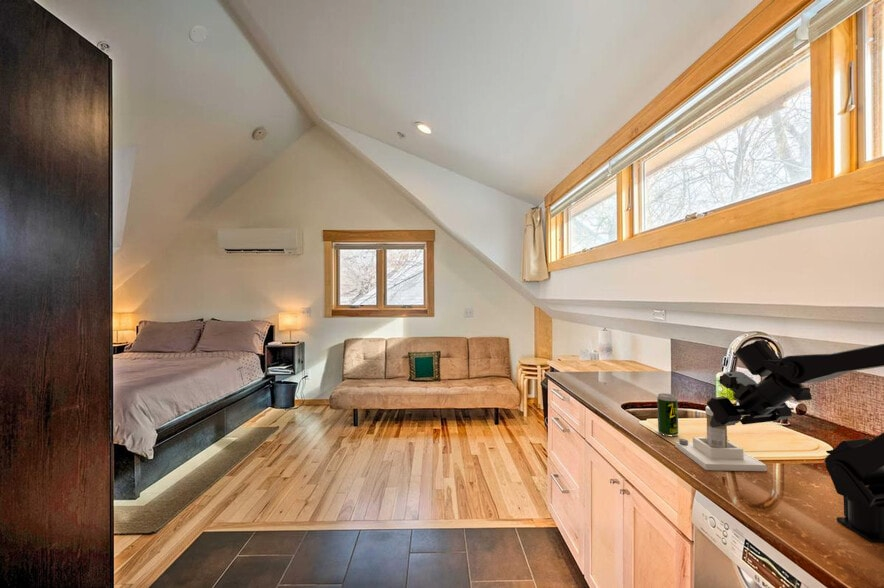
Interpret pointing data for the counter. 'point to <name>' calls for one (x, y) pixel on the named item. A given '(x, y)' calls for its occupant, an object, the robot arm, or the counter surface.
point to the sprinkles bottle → (715, 433)
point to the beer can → (667, 414)
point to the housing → (719, 456)
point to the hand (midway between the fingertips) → (726, 424)
